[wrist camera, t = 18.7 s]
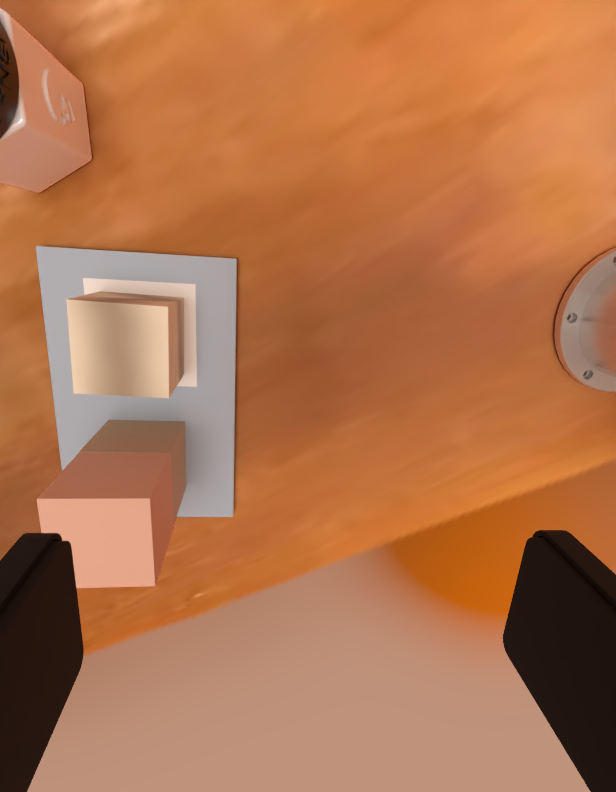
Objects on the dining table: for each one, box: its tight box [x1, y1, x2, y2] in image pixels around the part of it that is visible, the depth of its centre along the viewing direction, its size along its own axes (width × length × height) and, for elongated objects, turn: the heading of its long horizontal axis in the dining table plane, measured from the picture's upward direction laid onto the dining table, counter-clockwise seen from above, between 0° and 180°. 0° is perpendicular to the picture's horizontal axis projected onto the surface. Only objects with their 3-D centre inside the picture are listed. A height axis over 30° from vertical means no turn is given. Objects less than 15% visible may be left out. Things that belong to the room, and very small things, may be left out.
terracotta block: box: [37, 452, 174, 588], centre depth 28 cm, size 6×6×6 cm
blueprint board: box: [36, 246, 237, 524], centre depth 33 cm, size 14×22×7 cm, turn 176°
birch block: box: [66, 291, 184, 398], centre depth 31 cm, size 6×6×6 cm
